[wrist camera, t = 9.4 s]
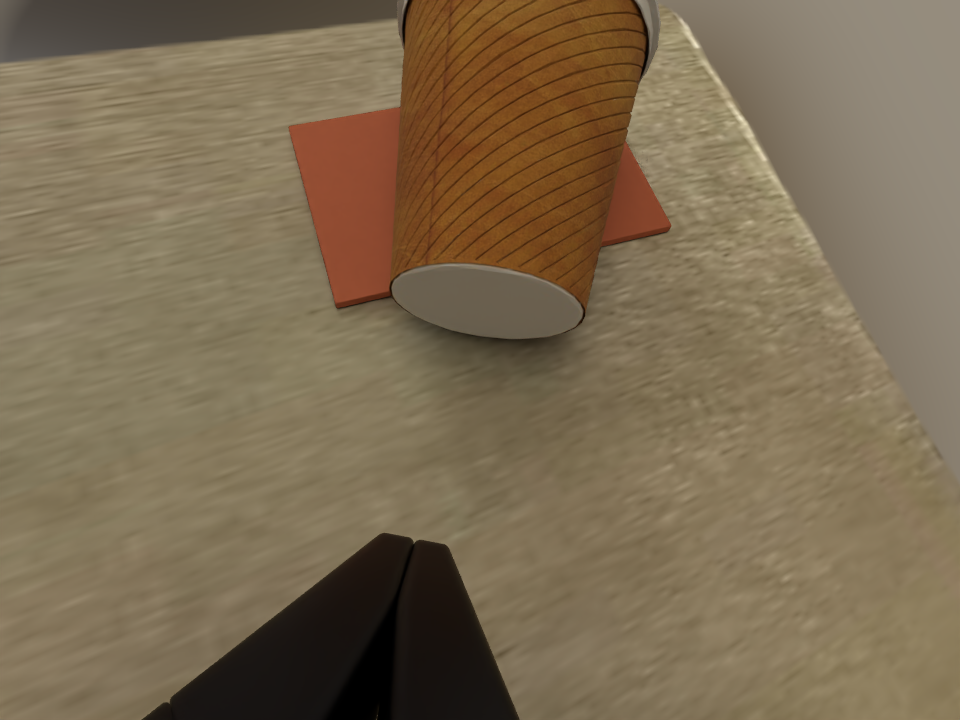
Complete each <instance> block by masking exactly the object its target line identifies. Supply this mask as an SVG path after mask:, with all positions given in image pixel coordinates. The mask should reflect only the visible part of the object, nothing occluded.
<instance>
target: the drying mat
mask: <svg viewBox="0 0 960 720" xmlns="http://www.w3.org/2000/svg"><path fill="white" fill-rule="evenodd" d="M400 108H401V107H398V108H392V109H386V110H381V111H375V112H369V113H363V114H357V115H351V116H346V117H340V118H334V119H328V120H322V121H316V122H310V123H305V124H299V125H293V126H289V131H290V135H291V139H292V143H293V146H294V150H295V154H296V158H297V161H298V165H299V169H300V173H301V177H302V180H303V184H304V188H305V192H306V195H307V199H308V203H309V207H310V210H311V214H312V218H313V222H314V225H315V229H316V233H317V237H318V240H319V244H320V248H321V252H322V256H323V259H324V263H325V267H326V271H327V274H328V278H329V282H330V286H331V289H332V293H333V297H334V301H335V304H336V308H341V307H345V306H349V305H354V304H358V303H362V302H367V301H371V300H375V299H379V298H384V297H388V296H391V294H390V291H389V284H390V276H391V259H392V244H393V225H394V208H395V191H396V173H397V158H398V143H399V124H400ZM620 161H621V163H620V166H619V170H618V173H617V179H616V183H615V186H614V190H613V191H614V193H613V196H612V200H611V204H610V207H609V208H610V210H609V214H608V217H607V221H606V226H605V230H604V234H603V238H602V243H601V247H602V246H607V245H611V244H615V243H620V242H624V241H628V240H632V239H637V238H641V237H645V236H650V235H654V234H658V233H663V232H667V231H669V229H670V227H671V224H670V222H669V220H668V218H667V216H666V215H665V213H664V211H663V209H662V207H661V205H660V204H659V202H658V200H657V198H656V196H655V194H654V193H653V191H652V189H651V187H650V185H649V183H648V181H647V180H646V178H645V176H644V174H643V172H642V170H641V169H640V167H639V165H638V163H637V161H636V159H635V158H634V156H633V154H632V152H631V150H630V148H629V146H628V145H627V143H626V141H625V143H624V148H623V152H622V156H621V158H620Z"/></svg>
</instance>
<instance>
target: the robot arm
mask: <svg viewBox="0 0 960 720" xmlns="http://www.w3.org/2000/svg"><path fill="white" fill-rule="evenodd" d="M377 715H378V716H377ZM376 718H377V720H519V717H518V715H517V712H516V710H515V707H514V705H513V703H512V700H511V698H510V695H509V693H508V690H507V688H506V686H505V683H504V681H503V678H502V676H501V673H500V671H499V669H498V666H497V664H496V661H495V659H494V656H493V654H492V651H491V649H490V647H489V644H488V642H487V639H486V637H485V634H484V632H483V630H482V627H481V625H480V622H479V620H478V617H477V615H476V613H475V610H474V608H473V605H472V603H471V600H470V598H469V596H468V593H467V591H466V588H465V586H464V583H463V581H462V579H461V576H460V574H459V571H458V569H457V566H456V564H455V561H454V559H453V557H452V554H451V552H450V550H449V548H448V546H446V545H445V544H440V543H435V542H430V541H425V540H418V541H416V542H415V543H414V542H413V540H412V539H411V538H409V537H404V536H399V535H394V534H389V533H382V534H380V535H378V536H377V537H376V538H374V539H373V540H372V541H370V542H369V543H368V544H367V545H365V546H364V547H363V548H361V549H360V550H359V551H358V552H356V553H355V554H354V555H353V556H351V557H350V558H349V559H347V560H346V561H345V562H344V563H342V564H341V565H340V566H338V567H337V568H336V569H335V570H333V571H332V572H331V573H329V574H328V575H327V576H326V577H324V578H323V579H322V580H320V581H319V582H318V583H317V584H315V585H314V586H313V587H312V588H310V589H309V590H308V591H306V592H305V593H304V594H303V595H301V596H300V597H299V598H297V599H296V600H295V601H294V602H292V603H291V604H290V605H288V606H287V607H286V608H285V609H283V610H282V611H281V612H280V613H278V614H277V615H276V616H274V617H273V618H272V619H271V620H269V621H268V622H267V623H265V624H264V625H263V626H262V627H260V628H259V629H258V630H256V631H255V632H254V633H253V634H251V635H250V636H249V637H247V638H246V639H245V640H244V641H242V642H241V643H240V644H239V645H237V646H236V647H235V648H233V649H232V650H231V651H230V652H228V653H227V654H226V655H224V656H223V657H222V658H221V659H219V660H218V661H217V662H215V663H214V664H213V665H212V666H210V667H209V668H208V669H207V670H205V671H204V672H203V673H201V674H200V675H199V676H198V677H196V678H195V679H194V680H192V681H191V682H190V683H189V684H187V685H186V686H185V687H183V688H182V689H181V690H180V691H178V692H177V693H176V694H174V695H173V696H172V697H171V699H170V704H169V703H167V702H165V703H162V704H161V705H160V706H159V707H157V708H156V709H155V710H153V711H152V712H151V713H150V714H148V715H147V716H146V717H144V718H143V719H142V720H376Z"/></svg>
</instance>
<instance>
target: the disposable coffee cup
mask: <svg viewBox="0 0 960 720" xmlns="http://www.w3.org/2000/svg"><path fill="white" fill-rule="evenodd" d="M397 18H398V28H399V35H400V38H401V40H402V45H403V49H404V60H403V76H402V92H401V108H400V124H399V143H398V158H397V173H396V191H395V208H394V225H393V244H392V259H391V276H390V284H389V291H390V294H391V296H392V298H393V299H394V300H395V302H396V303H397V304H398V305H400V306H401V307H402V308H403V309H405V310H406V311H408V312H409V313H411V314H413V315H414V316H416V317H418V318H420V319H423V320H425V321H427V322H429V323H432V324H435V325H438V326H440V327H443V328H446V329H448V330H452V331H457V332H462V333H467V334H471V335H476V336H484V337H494V338H505V339H527V338H540V337H549V336H554V335H557V334H561V333H565V332H567V331H569V330H572V329H574V328H575V327H577V326H578V325H579V324H580V323H582V321H583V319H584V317H585V313H586V307H587V303H588V299H589V295H590V290H591V286H592V282H593V278H594V272H595V268H596V264H597V261H598V255H599V251H600V247H601V243H602V238H603V234H604V230H605V226H606V221H607V217H608V214H609V210H610V208H609V207H610V204H611V200H612V196H613V193H614V191H613V190H614V186H615V183H616V179H617V173H618V170H619V166H620V163H621V161H620V158H621V156H622V152H623V148H624V143H625V139H626V136H627V132H628V130H627V127H628V126H629V123H630V119H631V114H630V112H632V109H633V105H634V101H635V98H634V97H635V96H636V93H637V89H638V85H639V83H640V81H641V79H642V78H643V76H644V75H645V74H646V72H647V70H648V68H649V66H650V63H651V61H652V59H653V57H654V54H655V52H656V50H657V47H658V39H659V31H660V23H661V22H660V14H659V6H658V2H657V0H398V3H397Z"/></svg>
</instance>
